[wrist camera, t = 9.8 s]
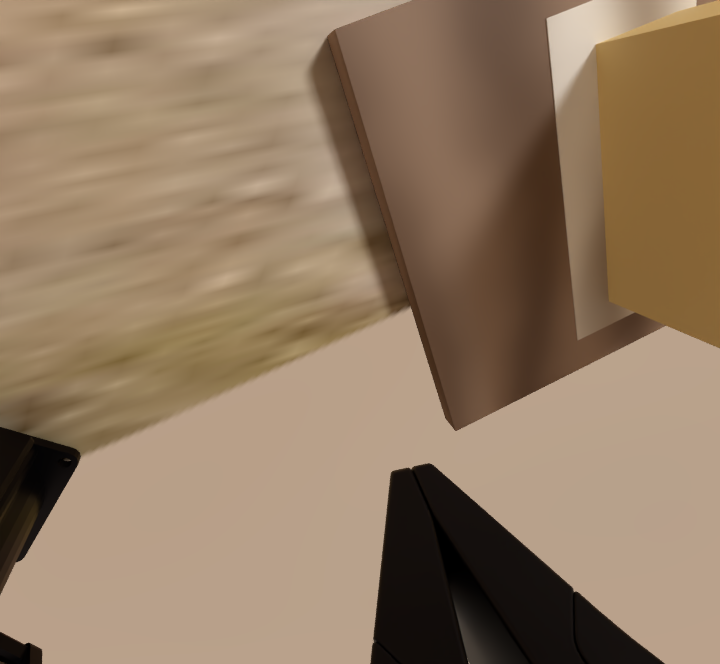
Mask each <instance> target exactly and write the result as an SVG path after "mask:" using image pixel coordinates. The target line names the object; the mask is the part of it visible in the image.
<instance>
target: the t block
mask: <svg viewBox="0 0 720 664" xmlns="http://www.w3.org/2000/svg"><path fill="white" fill-rule="evenodd" d="M596 60H597V80H598V100H599V120H600V139H601V159H602V179H603V198H604V218H605V238H606V257H607V277H608V297H609V302H612V303H614V304H616V305H619V306H621V307H623V308H626V309H628V310H631V311H633V312H635V313H638V314H640V315H642V316H645V317H647V318H649V319H652V320H654V321H657V322H659V323H661V324H664V325H666V326H668V327H671V328H673V329H676V330H678V331H680V332H683V333H685V334H687V335H690V336H692V337H694V338H697V339H699V340H702V341H704V342H706V343H709V344H711V345H713V346H716V347H718V348H720V0H717V1H714V2H710V3H706V4H702V5H699V6H695V7H691V8H688V9H684V10H680V11H677V12H675V13H672V14H670V15H667V16H665V17H662V18H660V19H657V20H655V21H652V22H650V23H647V24H645V25H643V26H640V27H638V28H635V29H633V30H630V31H628V32H625V33H623V34H620V35H618V36H615V37H613V38H610V39H608V40H605V41H603V42H601V43H598V44H596Z"/></svg>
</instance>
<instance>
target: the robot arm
mask: <svg viewBox="0 0 720 664" xmlns="http://www.w3.org/2000/svg"><path fill="white" fill-rule="evenodd" d="M80 457H81V456H80V453H79V452H78V451H77V450H76V449H74V448H71V447H68V446H64V445H61V444H58V443H54V442H51V441H47V440H44V439H40V438H37V437H33V436H30V435H26V434H23V433H19V432H16V431H12V430H9V429H5V428H2V427H0V594H1V592H2V590H3V588H4V586H5V584H6V582H7V580H8V577H9V575H10V573H11V571H12V569H13V567H14V565H15V563H16V562H18V561H21V560H22V559H23V558H24V557H25V555H26V554H27V552H28V550H29V548H30V547H31V545H32V543H33V541H34V540H35V538H36V536H37V534H38V533H39V531H40V529H41V528H42V526H43V524H44V522H45V521H46V519H47V517H48V516H49V514H50V512H51V510H52V509H53V507H54V505H55V503H56V502H57V500H58V498H59V497H60V495H61V493H62V491H63V490H64V488H65V486H66V485H67V483H68V481H69V479H70V478H71V476H72V474H73V472H74V471H75V469H76V467H77V465H78V463H79V461H80ZM61 458H68V459H70V460H71V461H64V460H62V459H61ZM375 619H376V620H375V628H374V637H373V639H374V643H373V645H372V654H371V663H370V664H469V663H470V664H664V663H663V662H662V661H661V660H660V659H658V658H657V657H656V656H654V655H653V654H652V653H650V652H649V651H648V650H647V649H645V648H644V647H643V646H641V645H640V644H639V643H637V642H636V641H635V640H634V639H632V638H631V637H630V636H629V635H627V634H626V633H625V632H624V631H623V630H621V629H620V628H619V627H617V625H615V624H614V623H613V622H612V621H611V620H609V619H608V618H607V617H606V616H605V615H604V614H602V613H601V612H600V611H599V610H598V609H596V608H595V607H594V606H593V605H592V604H591V603H590V602H589V601H587V600H586V599H585V598H584V597H583V596H581V594H580V593H578V592H574V591H573V588H572V587H571V586H570V585H569V584H568V583H567V582H565V581H564V580H563V579H562V578H561V577H560V576H559V575H557V574H556V573H555V572H554V571H553V570H552V569H551V568H550V567H549V566H547V565H546V564H545V563H544V562H543V561H542V560H541V559H539V558H538V557H537V556H536V555H535V554H534V553H533V552H531V551H530V550H529V549H528V548H527V547H526V546H525V545H523V544H522V543H521V542H520V541H519V540H518V539H517V538H516V537H514V536H513V535H512V534H511V533H510V532H508V531H507V530H506V529H505V528H504V527H503V526H502V525H501V524H499V523H498V522H497V521H496V520H495V519H494V518H493V517H491V516H490V515H489V514H488V513H487V512H486V511H485V510H484V509H482V508H481V507H480V506H479V505H478V504H477V503H476V502H475V501H473V500H472V499H471V498H470V497H469V496H468V495H467V494H465V493H464V492H463V491H462V490H461V489H460V488H459V487H457V486H456V485H455V484H454V483H453V482H452V481H451V480H450V479H448V478H447V477H446V476H445V475H443V473H442V472H440V471H439V470H438V469H437V468H436V467H434V465H432V464H429V463H428V464H423V465H418V466H414V467H413V468H412V469H410V468H404V469H399V470H395V471H392V472H391V476H390V486H389V495H388V505H387V515H386V524H385V534H384V543H383V552H382V561H381V571H380V580H379V590H378V600H377V609H376V618H375ZM467 658H468V659H467ZM468 661H469V663H468ZM0 664H42V649H40V648H38V647H36V646H35V645H32V644H31V643H26V644H25V645H24V644H22V643H21V642H19V641H17V640H15V639H13V638H11V637H9V636H7V635H5V634H3V633H2V632H0Z"/></svg>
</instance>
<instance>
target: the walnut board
mask: <svg viewBox="0 0 720 664" xmlns="http://www.w3.org/2000/svg"><path fill="white" fill-rule="evenodd" d="M714 1H717V0H412V1H410V2H407V3H404V4H402V5H399V6H396V7H393V8H391V9H388V10H385V11H383V12H380V13H377V14H375V15H372V16H369V17H367V18H364V19H361V20H359V21H356V22H353V23H351V24H348V25H345V26H342V27H340V28H337V29H335V30H334V31H333V32H331V33H330V34H329V35H328V36H327V38H328V41H329V44H330V48H331V51H332V54H333V57H334V60H335V64H336V67H337V70H338V73H339V77H340V80H341V83H342V86H343V89H344V93H345V96H346V99H347V102H348V106H349V109H350V112H351V115H352V118H353V122H354V125H355V128H356V131H357V135H358V138H359V141H360V144H361V148H362V151H363V154H364V157H365V160H366V164H367V167H368V170H369V173H370V177H371V180H372V183H373V186H374V189H375V193H376V196H377V199H378V202H379V206H380V209H381V212H382V215H383V218H384V222H385V225H386V228H387V231H388V235H389V238H390V241H391V244H392V247H393V251H394V254H395V257H396V260H397V264H398V267H399V270H400V273H401V276H402V280H403V283H404V286H405V289H406V293H407V296H408V299H409V302H410V305H411V309H412V312H413V315H414V318H415V321H416V325H417V328H418V331H419V335H420V338H421V341H422V344H423V347H424V351H425V354H426V357H427V360H428V364H429V367H430V370H431V373H432V376H433V380H434V383H435V386H436V389H437V393H438V396H439V399H440V402H441V405H442V409H443V412H444V415H445V418H446V420H447V421H448V422H449V423H450V425H451V426H452V427H453V428H454V430H455V431H457V430H459V429H461V428H463V427H465V426H467V425H469V424H471V423H473V422H475V421H477V420H479V419H481V418H483V417H485V416H487V415H489V414H491V413H493V412H495V411H497V410H499V409H501V408H503V407H505V406H507V405H509V404H511V403H513V402H515V401H517V400H519V399H521V398H523V397H525V396H527V395H529V394H531V393H533V392H535V391H537V390H539V389H541V388H543V387H545V386H547V385H548V384H551V383H553V382H555V381H557V380H559V379H560V378H563V377H564V376H566V375H569V374H571V373H573V372H574V371H576V370H578V369H580V368H582V367H584V366H586V365H588V364H590V363H592V362H594V361H596V360H598V359H600V358H602V357H604V356H606V355H608V354H610V353H612V352H614V351H616V350H618V349H620V348H622V347H624V346H626V345H628V344H630V343H632V342H634V341H636V340H638V339H640V338H642V337H644V336H646V335H648V334H650V333H652V332H654V331H656V330H658V329H660V328H662V327H664V326H666V325H664V324H661V323H659V322H657V321H654V320H652V319H649V318H647V317H645V316H642V315H640V314H638V313H635V312H633V311H631V310H628V309H626V308H623V307H621V306H619V305H616V304H614V303H612V302H609V297H608V277H607V257H606V238H605V218H604V198H603V179H602V159H601V139H600V120H599V100H598V80H597V60H596V44H598V43H601V42H603V41H605V40H608V39H610V38H613V37H615V36H618V35H620V34H623V33H625V32H628V31H630V30H633V29H635V28H638V27H640V26H643V25H645V24H647V23H650V22H652V21H655V20H657V19H660V18H662V17H665V16H667V15H670V14H672V13H675V12H677V11H680V10H684V9H688V8H691V7H695V6H699V5H702V4H706V3H710V2H714Z"/></svg>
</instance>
